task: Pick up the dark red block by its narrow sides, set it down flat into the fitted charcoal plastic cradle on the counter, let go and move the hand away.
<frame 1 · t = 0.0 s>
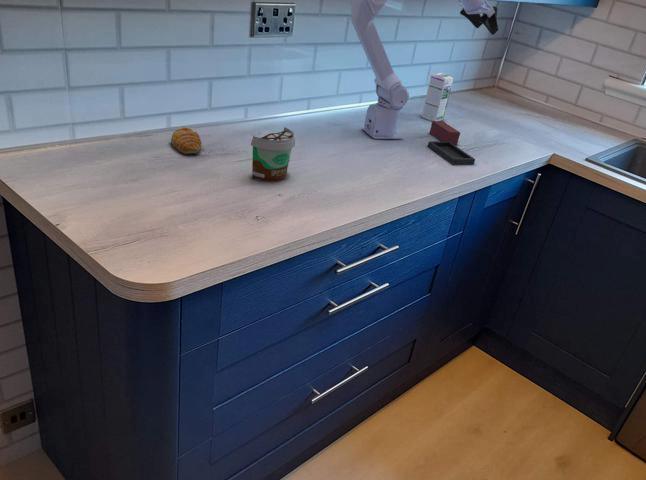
hand: (487, 29, 174), 32 cm above the worktop, tool tilted 50°, fingers open, 7 cm apart
syrup box: (431, 119, 203), on the worktop
cradle: (450, 155, 174), on the worktop
food container: (275, 178, 138), on the worktop
dark red block: (442, 139, 186), on the worktop
pastry: (187, 148, 144), on the worktop
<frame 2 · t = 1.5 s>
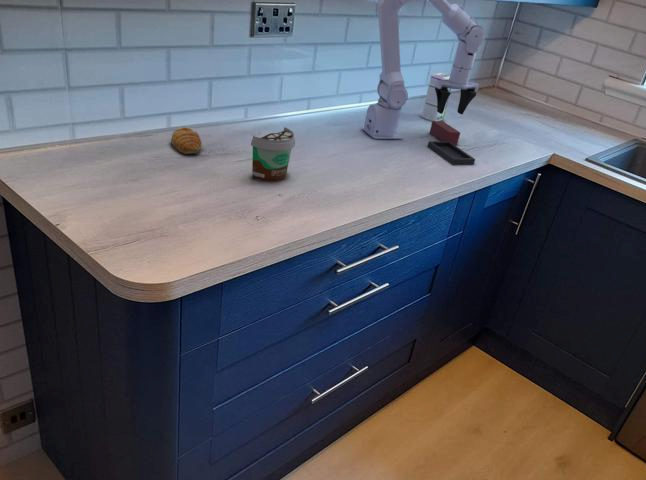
hand: (449, 113, 181), 8 cm above the worktop, tool pointing down, fingers open, 7 cm apart
nothing on the worktop moved.
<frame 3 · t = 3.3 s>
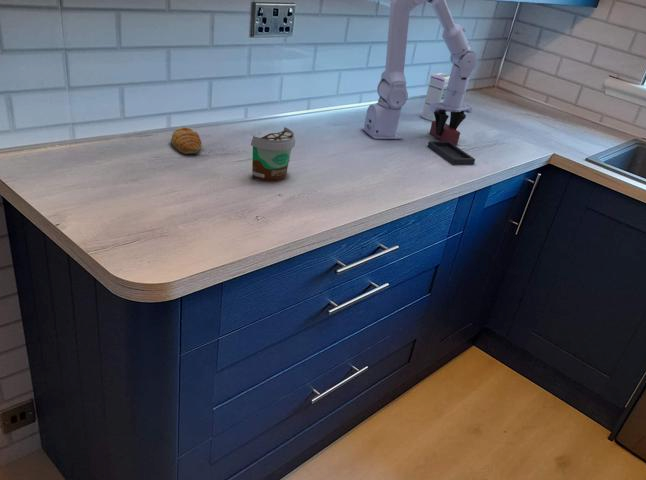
hand: (444, 134, 185), 1 cm above the worktop, tool pointing down, fingers closed on dark red block, 4 cm apart
dark red block: (442, 139, 186), on the worktop, touching gripper
everything else where it was.
when the fingers open (2 cm above the worktop, at t = 8.7 s): dark red block stays where it is, resting on cradle.
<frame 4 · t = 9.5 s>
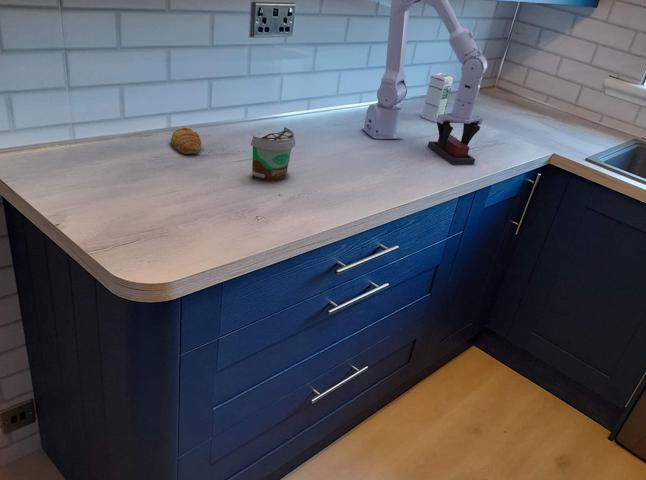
hand: (452, 147, 173), 2 cm above the worktop, tool pointing down, fingers open, 7 cm apart
dark red block: (450, 154, 174), resting on cradle
everything else where it was.
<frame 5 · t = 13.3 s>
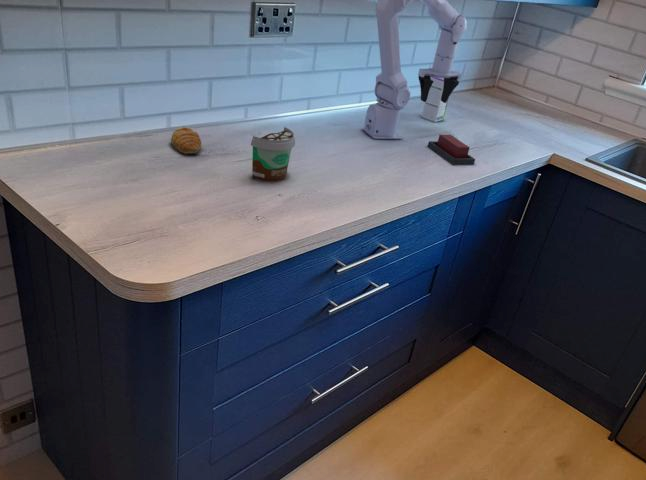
hand: (433, 101, 185), 9 cm above the worktop, tool pointing down, fingers open, 7 cm apart
nothing on the worktop moved.
at the end: dark red block 0.0 cm off-centre in the cradle, point 0.4 cm above the cradle's base; dark red block tilted 0°; the gripper is holding nothing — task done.
